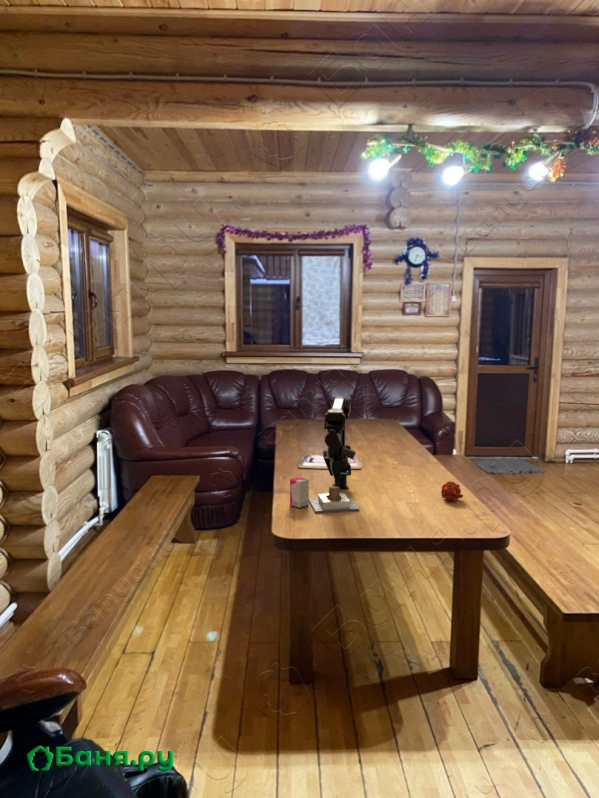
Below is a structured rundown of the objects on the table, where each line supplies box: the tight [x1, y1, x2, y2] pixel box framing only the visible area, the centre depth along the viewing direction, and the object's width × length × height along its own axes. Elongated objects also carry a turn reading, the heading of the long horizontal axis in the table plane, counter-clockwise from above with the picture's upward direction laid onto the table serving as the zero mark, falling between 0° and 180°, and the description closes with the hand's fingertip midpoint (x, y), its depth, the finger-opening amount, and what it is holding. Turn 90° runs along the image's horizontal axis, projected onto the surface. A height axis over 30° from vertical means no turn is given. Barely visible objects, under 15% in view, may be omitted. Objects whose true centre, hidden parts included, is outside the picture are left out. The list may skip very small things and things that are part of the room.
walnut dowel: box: [328, 485, 341, 500], centre depth 231 cm, size 4×4×7 cm
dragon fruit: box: [440, 481, 464, 503], centre depth 240 cm, size 8×8×12 cm
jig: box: [309, 492, 360, 514], centre depth 232 cm, size 16×18×4 cm
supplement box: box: [289, 476, 310, 509], centre depth 232 cm, size 6×6×12 cm
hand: (334, 478), depth 229 cm, fingers open, 9 cm apart
